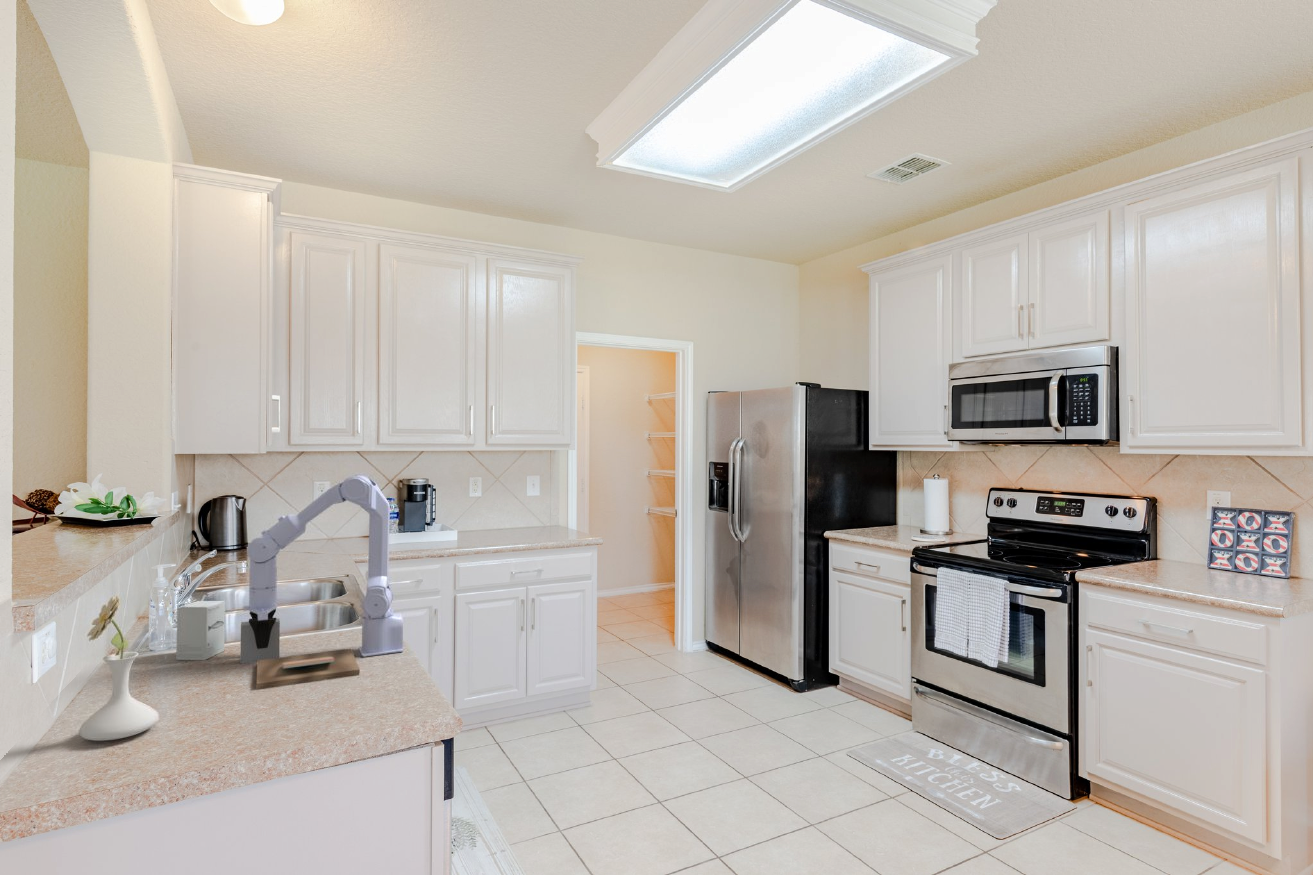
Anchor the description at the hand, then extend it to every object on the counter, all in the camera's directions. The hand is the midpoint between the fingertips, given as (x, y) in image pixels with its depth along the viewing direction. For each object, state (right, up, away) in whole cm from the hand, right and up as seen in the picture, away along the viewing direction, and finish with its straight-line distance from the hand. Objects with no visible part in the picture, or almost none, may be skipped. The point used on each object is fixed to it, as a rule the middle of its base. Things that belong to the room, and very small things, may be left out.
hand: (262, 643), depth 168 cm
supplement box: (-16, -4, +2) cm, 17 cm away
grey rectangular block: (0, -4, 0) cm, 4 cm away
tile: (+16, -1, -10) cm, 19 cm away
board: (+15, -4, -8) cm, 17 cm away
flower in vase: (-1, -4, -44) cm, 44 cm away
